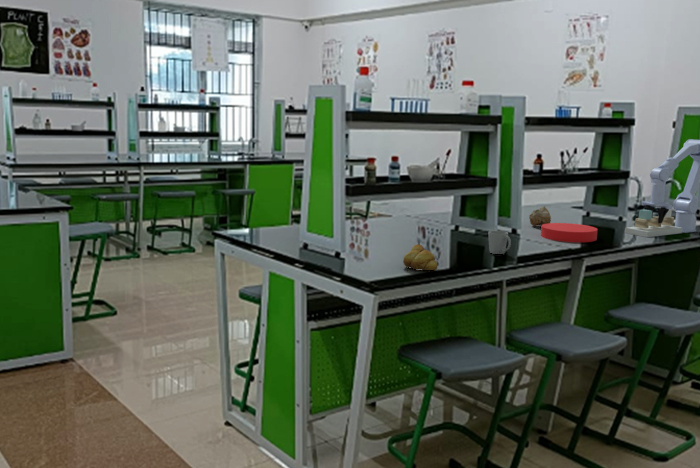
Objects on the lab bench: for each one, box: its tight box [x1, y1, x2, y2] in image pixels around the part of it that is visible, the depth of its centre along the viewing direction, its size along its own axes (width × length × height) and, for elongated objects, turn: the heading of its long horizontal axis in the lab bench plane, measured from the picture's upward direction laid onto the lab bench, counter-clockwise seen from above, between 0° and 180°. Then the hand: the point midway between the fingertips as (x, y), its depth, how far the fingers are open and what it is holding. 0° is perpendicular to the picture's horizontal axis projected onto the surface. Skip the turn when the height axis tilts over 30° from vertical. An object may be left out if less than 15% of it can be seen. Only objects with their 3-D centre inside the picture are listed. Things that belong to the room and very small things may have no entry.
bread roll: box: [402, 243, 438, 271], centre depth 231 cm, size 13×10×8 cm
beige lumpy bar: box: [634, 215, 675, 229], centre depth 313 cm, size 22×5×4 cm, turn 121°
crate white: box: [664, 208, 673, 218], centre depth 317 cm, size 4×4×4 cm
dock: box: [624, 225, 683, 238], centre depth 314 cm, size 26×12×2 cm, turn 121°
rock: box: [528, 206, 552, 227], centre depth 326 cm, size 12×10×10 cm
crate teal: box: [638, 209, 653, 220], centre depth 309 cm, size 4×4×4 cm
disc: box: [540, 222, 598, 243], centre depth 299 cm, size 24×5×24 cm
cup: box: [488, 230, 512, 255], centre depth 259 cm, size 8×10×8 cm
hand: (654, 222), depth 314 cm, fingers closed on beige lumpy bar, 5 cm apart
